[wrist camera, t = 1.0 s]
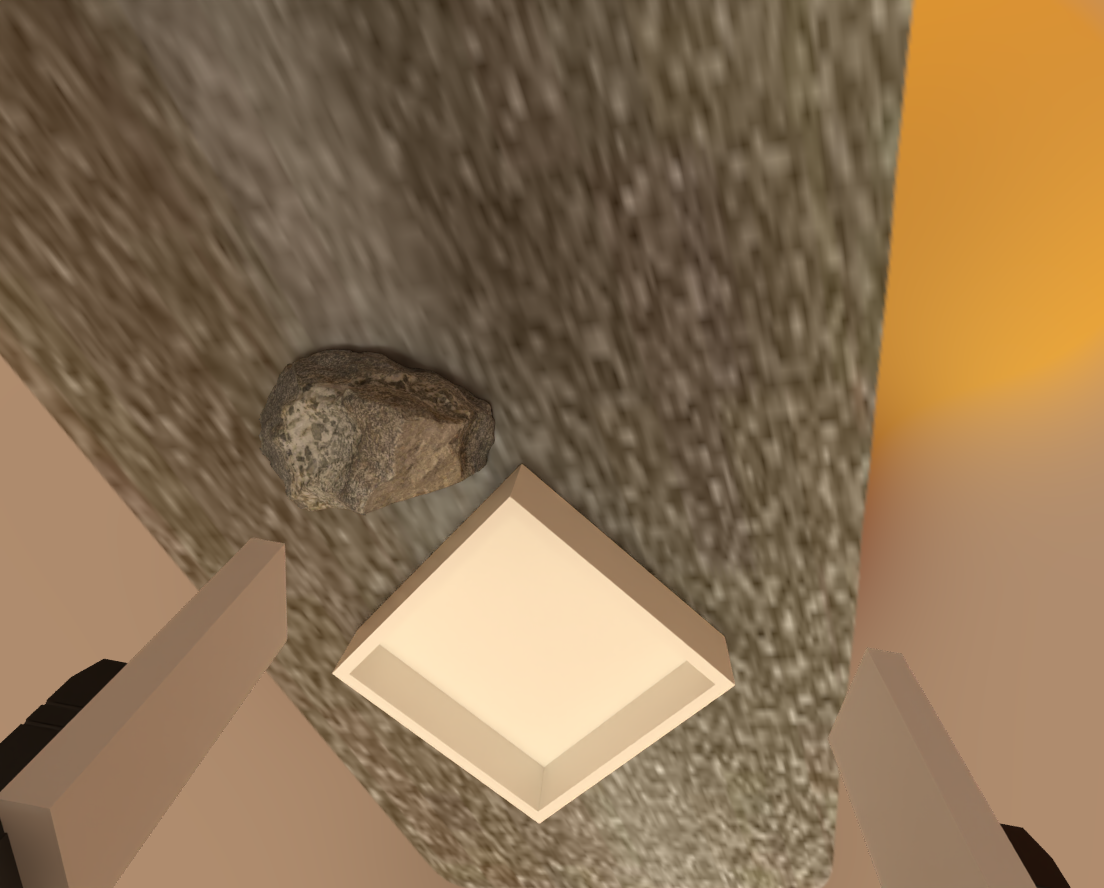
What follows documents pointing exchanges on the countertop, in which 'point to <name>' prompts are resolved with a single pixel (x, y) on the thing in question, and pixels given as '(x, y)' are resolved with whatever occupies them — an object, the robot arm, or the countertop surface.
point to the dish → (536, 651)
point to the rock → (370, 431)
